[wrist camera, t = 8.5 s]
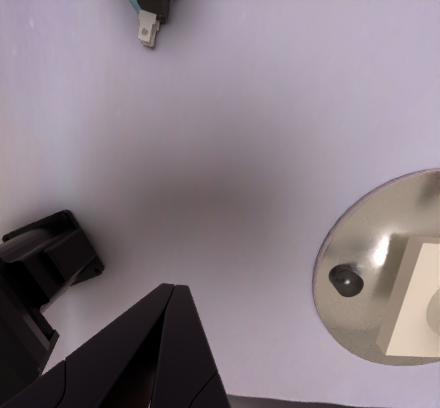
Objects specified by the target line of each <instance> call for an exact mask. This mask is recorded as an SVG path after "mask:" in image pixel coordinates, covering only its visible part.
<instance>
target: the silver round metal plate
mask: <svg viewBox="0 0 440 408" xmlns="http://www.w3.org/2000/svg"><path fill="white" fill-rule="evenodd" d="M409 236H416V237H433V238H440V168H439V169H431V170H423V171H419V172H415V173H411V174H407V175H404V176H402V177H399V178H396V179H394V180H391V181H389V182H387V183H385V184H383V185H381V186H379V187H377V188H376V189H374V190H373V191H371V192H370V193H368V194H367V195H365V196H364V197H362V198H361V199H360V200H359V201H357V202H356V203H355V204H354V205H353V206H351V207H350V208H349V209H348V210H347V211H346V212H345V213H344V215H343V216H342V217H341V218H340V219H339V220H338V221H337V223H336V224H335V225H334V227H333V228H332V229H331V231H330V232H329V234H328V236H327V237H326V239H325V241H324V242H323V245H322V247H321V249H320V252H319V254H318V257H317V260H316V264H315V267H314V274H313V295H314V301H315V305H316V308H317V311H318V313H319V315H320V317H321V319H322V321H323V323H324V324H325V326H326V328H327V330H328V331H329V333H330V334H331V335H332V336H333V338H334V339H335V340H336V341H337V342H338V343H339V344H340V345H341V346H342V347H344V348H345V349H347V350H348V351H349V352H351V353H353V354H355V355H357V356H359V357H360V358H363V359H366V360H368V361H371V362H375V363H379V364H384V365H392V366H414V365H423V364H428V363H433V362H438V361H440V357H417V356H392V355H385V354H384V353H383V352H382V350H381V349H380V348H379V346H378V345H377V344H376V341H377V337H378V334H379V331H380V328H381V325H382V322H383V318H384V315H385V312H386V309H387V306H388V303H389V299H390V296H391V293H392V290H393V287H394V284H395V280H396V277H397V274H398V271H399V268H400V265H401V261H402V258H403V255H404V252H405V249H406V246H407V242H408V239H409Z"/></svg>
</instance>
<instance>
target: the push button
mask: <svg viewBox="0 0 440 408" xmlns="http://www.w3.org/2000/svg"><path fill="white" fill-rule="evenodd" d="M129 1H130V3H131V4H132V5H133V7H134V8H135V10H136V11H137V13H138V14H139V17H138V20H140V26H139V32H138V39H139V40H142V43H143V45H146V46H149V47H153V46H154V40H155V34H156V30H157V31H158V30H159V24H160V23H162V24H165V21H166V19H167V17H168V12H169V0H129ZM143 29H144V33H143V34H142V30H143ZM150 37H152V39H151V40H150Z"/></svg>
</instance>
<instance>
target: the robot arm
mask: <svg viewBox="0 0 440 408" xmlns="http://www.w3.org/2000/svg"><path fill="white" fill-rule="evenodd" d="M63 214H65V215H66V218H65V217H64V216H63ZM9 238H10V239H11V240H10V239H9ZM2 240H3V242H4V243H3V244H1V245H0V408H148V407H149V404H150V408H232V407H231V404H230V402H229V399H228V396H227V394H226V391H225V389H224V386H223V383H222V380H221V377H220V375H219V374H218V369H217V366H216V363H215V361H214V358H213V355H212V352H211V349H210V346H209V343H208V340H207V338H206V335H205V332H204V329H203V326H202V323H201V320H200V318H199V315H198V312H197V309H196V306H195V303H194V300H193V297H192V295H191V292H190V289H189V287H188V286H187V285H176V286H175V285H174V284H166V283H162V284H160V285H159V286H158V287H157V288H155V289H154V290H153V291H151V292H150V293H149V294H148V295H146V296H145V297H144V298H142V299H141V300H140V301H138V302H137V303H136V304H135V305H133V306H132V307H131V308H129V309H128V310H127V311H126V312H124V313H123V314H122V315H120V316H119V317H118V318H116V319H115V320H114V321H113V322H111V323H110V324H109V325H107V326H106V327H105V328H104V329H102V330H101V331H100V332H98V333H97V334H96V335H95V336H93V337H92V338H91V339H89V340H88V341H87V342H85V343H84V344H83V345H82V346H80V347H79V348H78V349H76V350H75V351H74V352H73V353H71V354H70V355H69V356H67V357H66V359H65V360H62V361H61V362H59V363H58V364H57V365H56V366H54V367H53V368H52V369H50V370H49V371H48V372H46V373H45V374H44V375H42V372H43V370H44V368H45V366H46V364H47V362H48V360H49V357H50V355H51V353H52V351H53V349H54V347H55V344H56V342H57V340H58V338H59V334H58V332H57V331H56V330H53V329H52V327H51V326H50V324H49V323H48V322H47V320H46V319H45V318H44V316H43V315H42V313H43V312H44V311H45V310H46V309H47V308H48V307H49V306H50V305H51V304H52V303H53V302H54V301H55V300H56V299H57V298H58V297H59V296H60V295H61V294H62V293H63V292H64V291H65V290H66V289H67V288H68V287H70V286H72V285H75V284H77V283H80V282H83V281H85V280H88V279H90V278H93V277H96V276H98V275H100V274H102V272H103V271H104V266H103V264H102V262H101V261H100V259H99V257H98V256H97V254H96V252H95V250H94V249H93V247H92V245H91V244H90V242H89V240H88V239H87V237H86V236H85V234H84V232H83V231H82V230H81V228H80V227H79V225H78V223H77V222H76V220H75V219H74V217H73V215H72V214H71V212H70V211H68V210H62V211H60V212H58V213H55V214H53V215H50V216H48V217H46V218H43V219H41V220H39V221H36V222H34V223H32V224H29V225H27V226H25V227H22V228H20V229H18V230H15V231H13V232H11V233H8V234H6V235H4V236H3V238H2ZM96 268H99V270H97V269H96ZM41 375H42V376H41ZM150 401H151V402H150Z"/></svg>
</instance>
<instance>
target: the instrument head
mask: <svg viewBox="0 0 440 408" xmlns="http://www.w3.org/2000/svg"><path fill="white" fill-rule="evenodd" d="M376 344H377V345H378V346H379V348H380V349H381V350H382V352H383V353H384V354H385V355H392V356H417V357H440V238H433V237H416V236H409V239H408V242H407V246H406V249H405V252H404V255H403V258H402V261H401V265H400V268H399V271H398V274H397V277H396V280H395V284H394V287H393V290H392V293H391V296H390V299H389V303H388V306H387V309H386V312H385V315H384V318H383V322H382V325H381V328H380V331H379V334H378V337H377V341H376Z"/></svg>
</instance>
